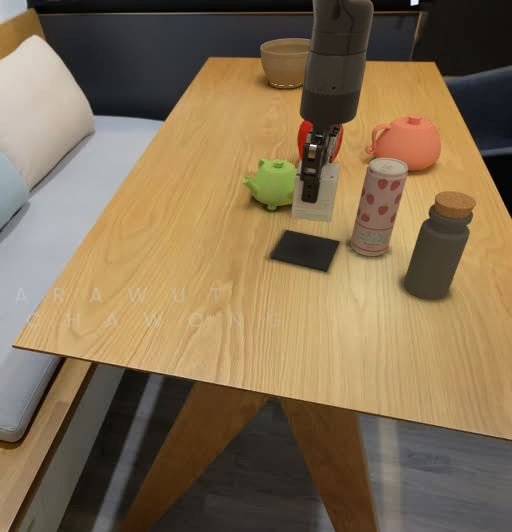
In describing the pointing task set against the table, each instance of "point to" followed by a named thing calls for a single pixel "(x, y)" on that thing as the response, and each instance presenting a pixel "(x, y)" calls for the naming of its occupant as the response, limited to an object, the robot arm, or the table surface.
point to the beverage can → (378, 206)
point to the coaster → (305, 250)
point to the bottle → (440, 245)
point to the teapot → (273, 183)
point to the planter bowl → (285, 61)
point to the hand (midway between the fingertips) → (315, 190)
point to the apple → (302, 137)
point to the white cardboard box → (325, 197)
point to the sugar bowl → (407, 142)
